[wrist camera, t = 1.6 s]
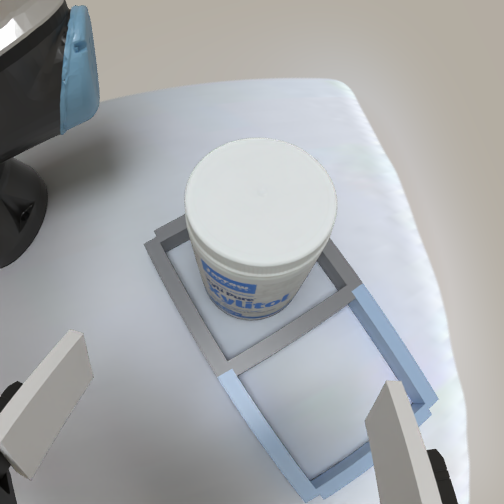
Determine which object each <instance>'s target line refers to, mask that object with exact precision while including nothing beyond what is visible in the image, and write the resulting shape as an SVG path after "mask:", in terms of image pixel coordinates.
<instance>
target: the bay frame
mask: <svg viewBox="0 0 504 504" xmlns="http://www.w3.org/2000/svg"><path fill="white" fill-rule="evenodd" d="M154 232H155V234H156V236H157V237H155V238H154V239H152V240H150V241H148V242H146V243H145V244H144V246H145V248H146V250H147V252H148V254H149V256H150V258H151V260H152V262H153V264H154V266H155V268H156V270H157V272H158V274H159V276H160V277H161V279H162V281H163V283H164V285H165V287H166V289H167V291H168V293H169V295H170V296H171V298H172V300H173V302H174V304H175V306H176V308H177V309H178V311H179V313H180V315H181V317H182V318H183V320H184V322H185V324H186V326H187V327H188V329H189V331H190V333H191V334H192V336H193V338H194V340H195V341H196V343H197V345H198V346H199V348H200V350H201V352H202V353H203V355H204V357H205V358H206V360H207V362H208V363H209V365H210V367H211V368H212V370H213V371H214V373H215V375H216V376H217V378H218V380H219V381H220V383H221V384H222V386H223V388H224V389H225V391H226V392H227V394H228V395H229V397H230V399H231V400H232V402H233V403H234V405H235V406H236V408H237V409H238V411H239V412H240V414H241V415H242V417H243V418H244V420H245V421H246V423H247V424H248V426H249V427H250V429H251V430H252V432H253V433H254V434H255V436H256V437H257V439H258V440H259V442H260V443H261V445H262V446H263V447H264V449H265V450H266V452H267V453H268V454H269V456H270V457H271V459H272V460H273V461H274V463H275V464H276V465H277V467H278V468H279V469H280V471H281V472H282V473H283V475H284V476H285V477H286V479H287V480H288V481H289V483H290V484H291V485H292V487H293V488H294V489H295V490H296V492H297V493H298V494H299V496H300V497H301V498H302V499H303V501H304V502H305V503H307V502H308V501H310V500H312V499H313V498H315V497H317V496H318V495H321V497H322V498H323V499H326V498H327V497H329V496H331V495H332V494H334V493H335V492H337V491H338V490H340V489H341V488H343V487H344V486H346V485H347V484H349V483H350V482H351V481H353V480H354V479H356V478H357V477H358V476H360V475H361V474H363V473H364V472H365V471H367V470H368V469H369V468H371V467H372V466H373V465H374V464H373V459H372V454H371V449H370V444H369V441H368V442H367V443H365V444H364V445H363V446H361V447H360V448H359V449H357V450H356V451H355V452H353V453H352V454H351V455H349V456H348V457H346V458H345V459H344V460H342V461H341V462H339V463H338V464H336V465H335V466H333V467H332V468H330V469H329V470H327V471H326V472H324V473H323V474H321V475H320V476H318V477H317V478H315V479H314V480H312V481H309V479H308V478H307V477H306V475H305V474H304V473H303V471H302V470H301V469H300V467H299V466H298V465H297V463H296V462H295V460H294V459H293V458H292V456H291V455H290V454H289V452H288V451H287V449H286V448H285V447H284V445H283V444H282V442H281V441H280V440H279V438H278V437H277V435H276V434H275V432H274V431H273V430H272V428H271V427H270V425H269V424H268V422H267V421H266V419H265V418H264V416H263V415H262V413H261V412H260V410H259V409H258V407H257V406H256V404H255V403H254V401H253V400H252V398H251V397H250V395H249V394H248V392H247V391H246V389H245V388H244V386H243V385H242V383H241V381H240V380H239V378H238V377H237V376H238V375H240V374H242V373H244V372H245V371H247V370H249V369H250V368H252V367H254V366H255V365H257V364H259V363H260V362H262V361H263V360H265V359H267V358H268V357H270V356H271V355H273V354H275V353H276V352H278V351H279V350H281V349H283V348H284V347H286V346H287V345H289V344H290V343H292V342H293V341H295V340H297V339H298V338H300V337H301V336H303V335H304V334H306V333H307V332H309V331H310V330H312V329H313V328H315V327H316V326H318V325H319V324H321V323H322V322H323V321H325V320H326V319H328V318H329V317H331V316H332V315H334V314H335V313H336V312H338V311H339V310H341V309H342V308H344V307H345V306H346V305H349V307H350V308H351V310H352V311H353V312H354V314H355V315H356V317H357V318H358V320H359V321H360V323H361V324H362V326H363V327H364V329H365V330H366V331H367V333H368V334H369V336H370V337H371V339H372V340H373V342H374V343H375V345H376V346H377V348H378V349H379V351H380V352H381V354H382V355H383V357H384V358H385V360H386V361H387V363H388V365H389V366H390V368H391V369H392V371H393V372H394V374H395V375H396V377H397V378H398V380H399V381H402V384H403V386H404V389H405V391H406V392H407V394H408V396H409V397H410V399H411V400H412V402H413V404H412V405H411V407H412V410H413V413H414V416H415V419H416V421H417V424H418V427H419V426H420V425H421V424H422V423H423V422H425V421H426V420H427V419H428V418H429V417H430V416H431V415H432V414H431V412H430V410H429V408H430V407H431V406H432V405H433V404H434V403H435V402H436V401H437V400H438V397H437V395H436V394H435V392H434V390H433V389H432V387H431V385H430V384H429V382H428V381H427V379H426V377H425V376H424V374H423V372H422V371H421V369H420V368H419V366H418V365H417V363H416V361H415V360H414V358H413V357H412V355H411V354H410V352H409V350H408V349H407V347H406V346H405V344H404V343H403V341H402V340H401V338H400V337H399V335H398V334H397V332H396V331H395V329H394V328H393V326H392V325H391V323H390V322H389V320H388V319H387V317H386V316H385V314H384V313H383V311H382V310H381V308H380V307H379V305H378V304H377V303H376V301H375V300H374V298H373V297H372V295H371V294H370V293H369V291H368V290H367V288H366V287H365V285H364V284H363V283H362V281H361V280H360V278H359V277H358V276H357V274H356V273H355V272H354V270H353V269H352V267H351V266H350V265H349V263H348V262H347V261H346V259H345V258H344V256H343V255H342V254H341V252H340V251H339V250H338V248H337V247H336V246H335V244H334V243H333V242H332V240H331V239H330V238H329V240H328V242H327V244H326V245H325V247H324V249H323V251H322V252H321V254H320V256H319V258H318V259H317V261H318V263H319V264H320V266H321V267H322V268H323V270H324V271H325V273H326V274H327V275H328V277H329V278H330V280H331V281H332V282H333V284H334V285H335V287H336V288H337V289H338V292H336V293H335V294H333V295H332V296H330V297H329V298H327V299H326V300H324V301H323V302H321V303H320V304H318V305H317V306H315V307H314V308H312V309H311V310H309V311H308V312H306V313H305V314H303V315H302V316H300V317H299V318H297V319H296V320H294V321H292V322H291V323H289V324H288V325H286V326H285V327H283V328H281V329H280V330H278V331H277V332H275V333H273V334H272V335H270V336H269V337H267V338H265V339H264V340H262V341H261V342H259V343H257V344H256V345H254V346H252V347H251V348H249V349H247V350H246V351H244V352H242V353H241V354H239V355H237V356H236V357H234V358H232V359H230V360H229V361H227V359H226V358H225V356H224V354H223V353H222V351H221V350H220V348H219V346H218V345H217V343H216V341H215V340H214V338H213V336H212V335H211V333H210V331H209V330H208V328H207V326H206V325H205V323H204V321H203V319H202V318H201V316H200V314H199V313H198V311H197V309H196V307H195V306H194V304H193V302H192V300H191V299H190V297H189V295H188V293H187V291H186V290H185V288H184V286H183V284H182V282H181V281H180V279H179V277H178V275H177V273H176V272H175V270H174V268H173V266H172V264H171V262H170V260H169V259H168V257H167V255H166V252H167V251H169V250H171V249H173V248H175V247H176V246H178V245H180V244H182V243H184V242H186V241H187V240H189V239H190V237H189V233H188V230H187V225H186V217H185V214H184V215H183V216H181V217H179V218H177V219H175V220H173V221H171V222H169V223H168V224H166V225H164V226H162V227H160V228H158V229H156V230H155V231H154Z"/></svg>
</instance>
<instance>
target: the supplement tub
mask: <svg viewBox="0 0 504 504" xmlns="http://www.w3.org/2000/svg"><path fill="white" fill-rule="evenodd" d="M184 200H185V217H186V225H187V230H188V233H189V237H190V241H191V244H192V247H193V251H194V254H195V257H196V261H197V264H198V267H199V270H200V274H201V277H202V280H203V283H204V286H205V289H206V291H207V293H208V295H209V297H210V298H211V300H212V301H213V302H214V304H215V305H216V306H217V307H218V308H220V309H221V310H222V311H224V312H225V313H227V314H229V315H231V316H233V317H236V318H239V319H245V320H259V319H263V318H267V317H270V316H272V315H274V314H276V313H278V312H280V311H281V310H283V309H284V308H285V307H286V306H287V305H288V304H289V303H290V302H291V300H292V299H293V298H294V296H295V295H296V293H297V292H298V290H299V288H300V287H301V285H302V284H303V282H304V280H305V279H306V277H307V276H308V274H309V272H310V271H311V269H312V268H313V266H314V264H315V263H316V261H317V259H318V258H319V256H320V254H321V252H322V251H323V249H324V247H325V245H326V244H327V242H328V240H329V238H330V235H331V232H332V228H333V226H334V223H335V219H336V215H337V195H336V191H335V188H334V185H333V182H332V180H331V178H330V176H329V175H328V173H327V172H326V170H325V169H324V168H323V166H322V165H321V164H320V163H319V162H318V161H317V160H316V159H315V158H314V157H312V156H311V155H310V154H308V153H307V152H306V151H304V150H302V149H301V148H299V147H297V146H295V145H292V144H290V143H287V142H284V141H280V140H276V139H270V138H246V139H240V140H236V141H232V142H229V143H227V144H224V145H222V146H220V147H218V148H216V149H214V150H213V151H211V152H210V153H209V154H207V155H206V156H205V157H204V158H203V159H202V160H201V161H200V162H199V163H198V164H197V165H196V167H195V168H194V170H193V171H192V173H191V175H190V177H189V179H188V182H187V185H186V190H185V199H184Z"/></svg>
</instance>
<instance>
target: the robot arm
mask: <svg viewBox="0 0 504 504" xmlns="http://www.w3.org/2000/svg"><path fill="white" fill-rule="evenodd" d="M99 99H100V97H99V83H98V73H97V64H96V56H95V48H94V40H93V33H92V27H91V21H90V16H89V14H88V9H87V7H86V6H84V5H81V6H76V5H75V6H73V7H72V9H70V10H69V8H68V7H67V4H66V1H65V0H0V268H1V267H4V266H6V265H8V264H10V263H11V262H13V261H14V260H15V259H17V258H18V257H19V256H20V255H21V254H22V253H23V252H24V251H25V250H26V248H27V247H28V246H29V245H30V243H31V242H32V240H33V239H34V237H35V235H36V234H37V232H38V230H39V228H40V226H41V223H42V221H43V218H44V215H45V211H46V206H47V189H46V186H45V183H44V181H43V180H42V179H41V177H40V176H39V175H38V174H37V172H36V171H35V170H34V169H33V168H31V167H30V166H28V165H26V164H24V163H23V162H21V161H19V160H17V159H15V158H13V157H14V156H16V155H18V154H20V153H22V152H24V151H26V150H28V149H30V148H32V147H34V146H36V145H38V144H40V143H42V142H44V141H46V140H49V139H51V138H53V137H55V136H57V135H60V134H61V135H63V134H64V133H66V131H67V130H69V129H71V128H73V127H75V126H77V125H79V124H81V123H83V122H85V121H88V120H89V119H90V118H92V117H93V116H94V114H95V113H96V111H97V109H98V107H99ZM93 378H94V376H93V372H92V369H91V364H90V360H89V356H88V352H87V347H86V343H85V338H84V333H80V332H77V331H74V330H71V329H70V330H69V331H68V332H67V333H66V334H65V335H64V337H63V338H62V339H61V340H60V341H59V342H58V343H57V344H56V346H55V347H54V348H53V349H52V350H51V351H50V353H49V354H48V355H47V356H46V357H45V358H44V360H43V361H42V362H41V363H40V364H39V365H38V367H37V368H36V369H35V370H34V371H33V373H32V374H31V375H30V376H29V377H28V379H27V380H26V381H25V382H24V384H22V383H20V382H18V381H17V382H15V383H13V384H12V385H10V386H8V387H7V388H6V390H5V391H4V392H3V393H2V395H1V397H0V504H17V501H16V497H15V493H14V489H13V484H12V479H11V474H10V472H9V467H10V465H11V466H12V467H13V468H14V469H15V471H16V472H17V473H19V474H21V475H22V476H24V477H26V478H27V479H29V480H32V478H33V476H34V475H35V473H36V471H37V469H38V468H39V466H40V464H41V462H42V461H43V459H44V457H45V455H46V454H47V452H48V450H49V449H50V447H51V445H52V444H53V442H54V440H55V438H56V437H57V435H58V434H59V432H60V430H61V429H62V427H63V425H64V424H65V422H66V420H67V419H68V417H69V416H70V414H71V412H72V411H73V409H74V408H75V406H76V404H77V403H78V401H79V400H80V398H81V396H82V395H83V393H84V392H85V390H86V389H87V387H88V386H89V384H90V383H91V381H92V379H93ZM365 425H366V429H367V434H368V439H369V444H370V449H371V454H372V459H373V464H374V469H375V475H376V480H377V486H378V492H379V498H380V504H458V502H457V499H456V495H455V492H454V489H453V486H452V483H451V479H449V477H450V476H449V473H448V471H447V467H446V464H445V461H444V458H443V457H442V456H441V454H440V453H439V452H438V451H437V450H436V449H432V450H426V448H425V445H424V442H423V439H422V436H421V433H420V430H419V427H418V424H417V421H416V419H415V416H414V413H413V410H412V407H411V405H410V402H409V399H408V397H407V394H406V391H405V389H404V386H403V384H402V381H386V382H385V384H384V386H383V388H382V390H381V392H380V394H379V395H378V397H377V399H376V401H375V403H374V405H373V407H372V409H371V410H370V412H369V414H368V416H367V417H366V419H365Z"/></svg>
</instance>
